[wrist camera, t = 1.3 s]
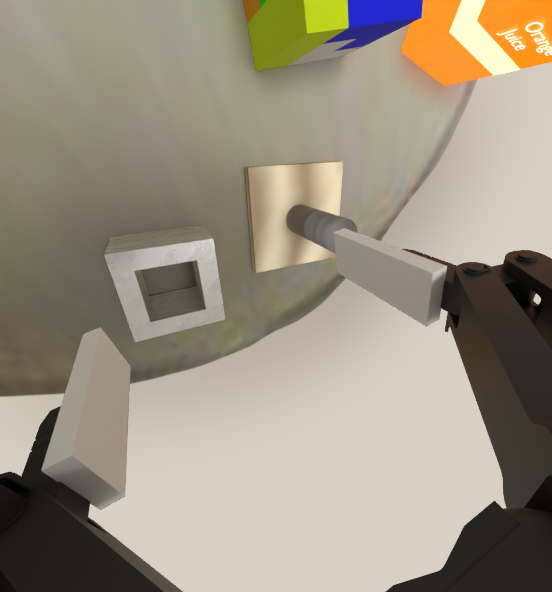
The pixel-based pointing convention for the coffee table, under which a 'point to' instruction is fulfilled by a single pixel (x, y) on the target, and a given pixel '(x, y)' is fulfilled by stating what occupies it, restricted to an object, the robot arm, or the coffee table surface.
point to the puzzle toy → (320, 27)
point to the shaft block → (294, 213)
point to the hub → (171, 305)
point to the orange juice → (479, 37)
